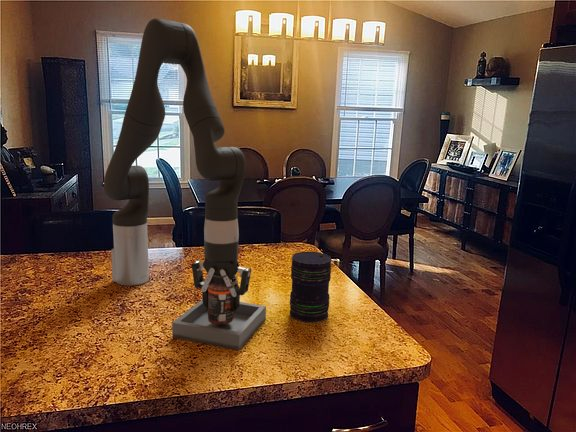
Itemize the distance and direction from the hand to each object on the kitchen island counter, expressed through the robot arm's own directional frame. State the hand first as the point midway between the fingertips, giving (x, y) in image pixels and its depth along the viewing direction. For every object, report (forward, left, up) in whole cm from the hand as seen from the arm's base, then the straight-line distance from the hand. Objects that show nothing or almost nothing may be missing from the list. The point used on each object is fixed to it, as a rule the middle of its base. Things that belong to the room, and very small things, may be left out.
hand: (221, 307), depth 107 cm
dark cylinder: (+17, +15, -5) cm, 23 cm away
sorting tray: (0, 0, -5) cm, 5 cm away
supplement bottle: (0, 0, -3) cm, 3 cm away
